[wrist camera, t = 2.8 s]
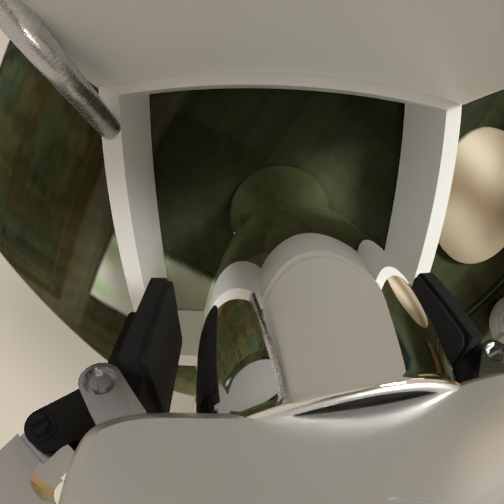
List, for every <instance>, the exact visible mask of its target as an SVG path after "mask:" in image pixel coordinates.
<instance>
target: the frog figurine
mask: <svg viewBox="0 0 504 504" xmlns="http://www.w3.org/2000/svg"><path fill="white" fill-rule="evenodd" d="M489 327H490V331H491V334H492V336H493V338H492V340H497V341H499V342H501V343H503V344H504V297H503V298H501V299H500V300H499V301H498V302H497V303H496V304H495V305H494V307H493V309H492V311H491V314H490V318H489Z"/></svg>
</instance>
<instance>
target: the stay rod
mask: <svg viewBox="0 0 504 504" xmlns="http://www.w3.org/2000/svg"><path fill="white" fill-rule="evenodd" d="M0 29H1V30H2V31H3V32H4V33H5V34H6V35H7V37H8V38H9V39H10V40H11V41H12V42H13V43H14V44H15V45H16V46H17V48H18V49H19V50H20V51H21V52H22V53H23V54H24V55H25V56H26V57H27V58H28V59H29V61H30V62H31V63H32V64H33V65H34V66H35V67H36V68H37V69H38V70H39V71H40V72H41V73H42V75H43V76H44V77H45V78H46V79H47V80H48V81H49V82H50V83H51V84H52V85H53V86H54V87H55V88H56V89H57V90H58V91H59V92H60V94H61V95H62V96H63V97H64V98H65V99H66V100H67V101H68V102H69V103H70V104H71V105H72V106H73V107H74V108H75V109H76V110H77V111H78V112H79V113H80V114H81V115H82V116H83V117H84V119H85V120H86V121H87V122H88V123H89V124H90V125H91V126H92V127H93V128H94V129H95V130H96V131H97V132H98V133H99V134H100V135H101V136H102V137H103V138H104V139H106V140H113V139H115V138H117V137H118V136H119V134H120V131H121V126H120V123H119V121H118V119H117V118H116V117H115V115H114V114H113V113H112V112H111V110H110V109H109V108H108V106H107V105H106V104H105V103H104V101H103V100H102V99H101V97H100V96H99V95H98V94H97V92H96V91H95V90H94V88H93V87H92V86H91V84H90V83H89V82H88V81H87V79H86V78H85V77H84V75H83V74H82V73H81V71H80V70H79V69H78V67H77V66H76V65H75V63H74V62H73V61H72V59H71V58H70V57H69V55H68V54H67V53H66V51H65V50H64V49H63V47H62V46H61V45H60V43H59V42H58V41H57V39H56V38H55V37H54V35H53V34H52V33H51V31H50V30H49V29H48V27H47V26H46V25H45V23H44V22H43V21H42V20H41V19H40V18H39V17H38V16H37V15H36V14H35V13H34V12H33V11H32V10H31V9H30V8H29V7H28V6H26V5H25V4H24V3H23V2H21V1H20V0H0Z"/></svg>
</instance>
